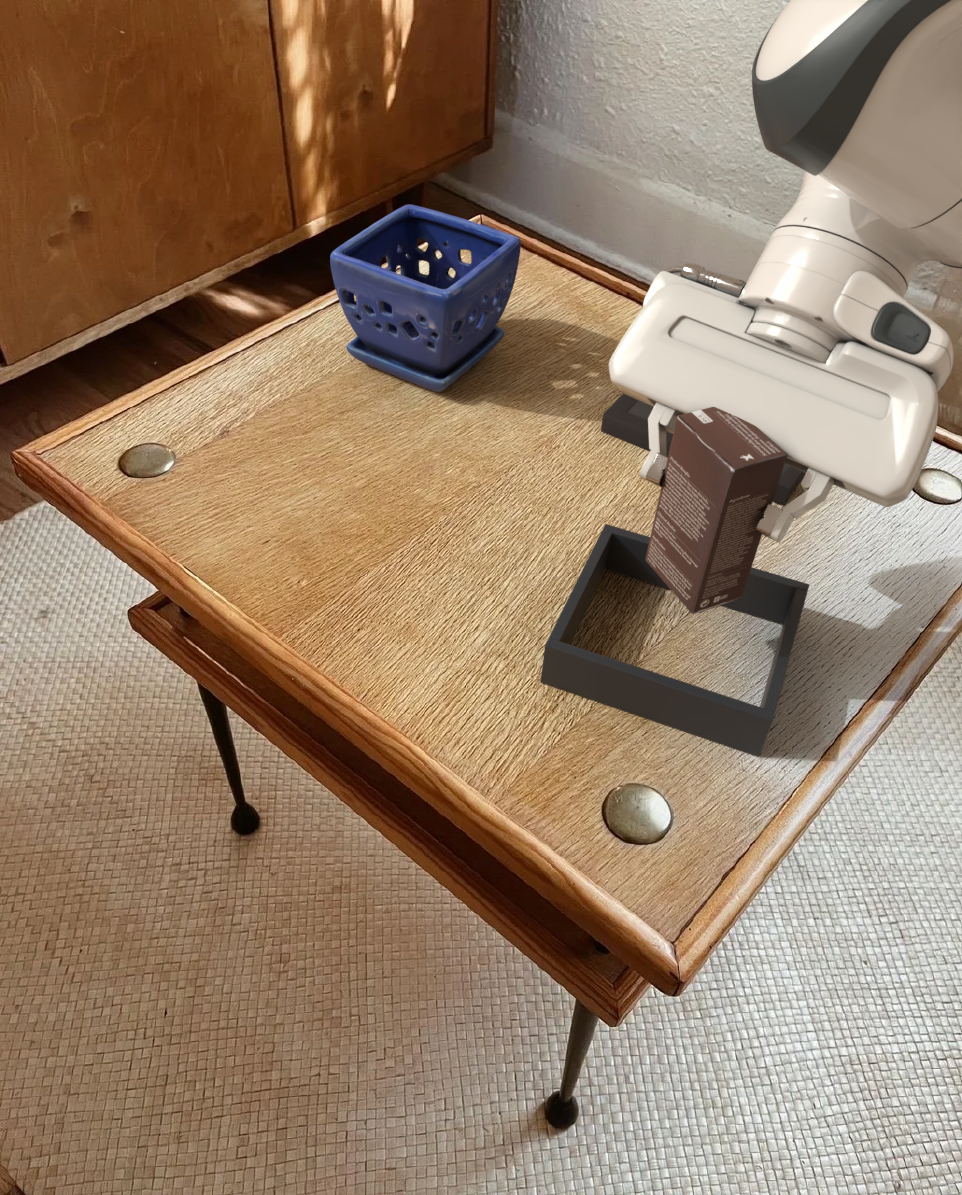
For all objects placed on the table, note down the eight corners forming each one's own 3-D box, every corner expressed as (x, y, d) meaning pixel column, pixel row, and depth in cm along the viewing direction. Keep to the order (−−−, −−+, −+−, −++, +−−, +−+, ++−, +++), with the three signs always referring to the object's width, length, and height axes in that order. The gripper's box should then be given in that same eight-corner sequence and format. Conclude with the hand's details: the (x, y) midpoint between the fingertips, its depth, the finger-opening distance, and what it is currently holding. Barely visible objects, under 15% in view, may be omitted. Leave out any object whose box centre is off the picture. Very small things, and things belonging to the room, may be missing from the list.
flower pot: (330, 367, 98) (321, 251, 90) (409, 309, 107) (407, 197, 98) (446, 414, 94) (448, 296, 85) (519, 349, 102) (528, 236, 93)
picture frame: (837, 429, 95) (664, 364, 101) (844, 409, 93) (668, 345, 99) (784, 506, 87) (599, 431, 93) (791, 486, 85) (602, 410, 92)
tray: (795, 621, 78) (809, 583, 75) (758, 757, 69) (773, 720, 66) (599, 561, 81) (605, 523, 78) (539, 682, 72) (544, 645, 69)
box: (746, 597, 68) (792, 453, 60) (690, 617, 67) (728, 472, 58) (695, 541, 72) (731, 398, 64) (641, 559, 71) (670, 415, 62)
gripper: (655, 233, 64) (554, 433, 66) (979, 348, 56) (856, 573, 58) (678, 272, 70) (585, 455, 71) (975, 382, 62) (863, 586, 63)
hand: (708, 509), depth 64 cm, fingers closed on box, 7 cm apart
